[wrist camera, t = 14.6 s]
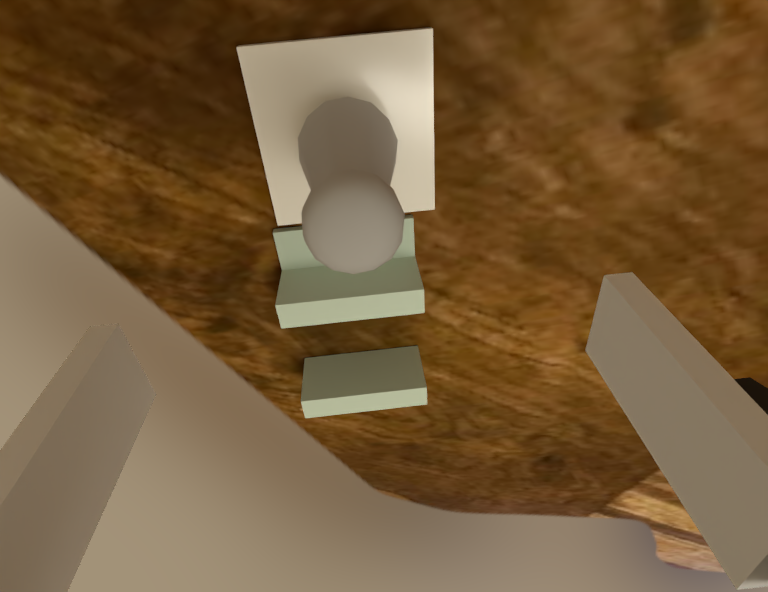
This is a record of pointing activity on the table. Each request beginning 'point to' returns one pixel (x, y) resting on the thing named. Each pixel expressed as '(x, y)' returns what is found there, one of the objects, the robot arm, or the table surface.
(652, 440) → the robot arm
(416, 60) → the plate
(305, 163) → the salt shaker
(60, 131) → the table surface
